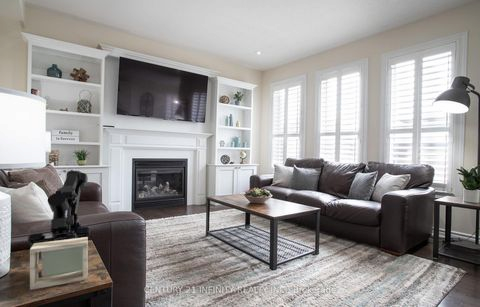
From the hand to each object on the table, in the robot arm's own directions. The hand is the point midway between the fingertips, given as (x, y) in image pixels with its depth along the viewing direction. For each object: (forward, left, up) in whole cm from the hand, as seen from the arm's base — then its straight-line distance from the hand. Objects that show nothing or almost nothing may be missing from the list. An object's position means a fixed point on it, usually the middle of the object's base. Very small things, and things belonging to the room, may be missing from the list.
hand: (59, 258), depth 95 cm
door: (0, +1, -5) cm, 5 cm away
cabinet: (+5, +1, -6) cm, 8 cm away
